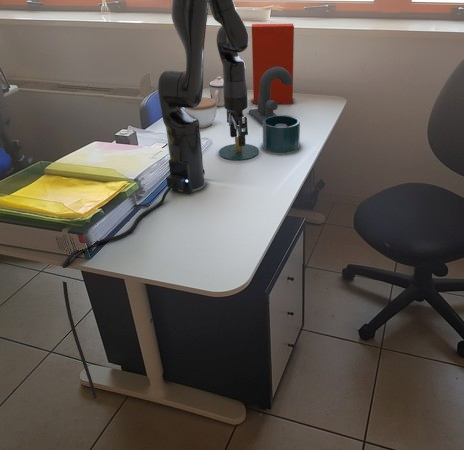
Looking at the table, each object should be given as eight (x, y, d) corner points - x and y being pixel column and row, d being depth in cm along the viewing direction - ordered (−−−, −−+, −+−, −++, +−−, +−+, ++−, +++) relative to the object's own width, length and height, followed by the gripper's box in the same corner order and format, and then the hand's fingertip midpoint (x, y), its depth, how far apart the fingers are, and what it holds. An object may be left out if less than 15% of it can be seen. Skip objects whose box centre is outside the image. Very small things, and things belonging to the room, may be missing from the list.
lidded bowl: (179, 124, 185) (176, 96, 179) (206, 117, 192) (204, 90, 186) (197, 132, 177) (194, 103, 171) (224, 125, 183) (222, 97, 178)
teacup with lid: (213, 100, 212) (211, 74, 206) (232, 100, 211) (231, 74, 205) (206, 108, 202) (204, 81, 196) (227, 108, 201) (225, 81, 195)
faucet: (300, 121, 186) (302, 70, 176) (264, 126, 181) (263, 74, 171) (282, 108, 201) (283, 60, 190) (248, 113, 196) (247, 64, 185)
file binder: (254, 98, 213) (252, 23, 196) (291, 98, 213) (292, 23, 196) (253, 104, 206) (251, 26, 189) (292, 103, 206) (293, 26, 189)
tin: (291, 156, 156) (292, 129, 151) (257, 151, 160) (256, 124, 155) (304, 143, 166) (305, 117, 161) (271, 138, 170) (271, 113, 165)
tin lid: (248, 164, 151) (247, 147, 148) (211, 158, 155) (210, 141, 152) (265, 150, 161) (265, 133, 158) (230, 144, 166) (229, 128, 163)
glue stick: (284, 149, 161) (284, 128, 157) (273, 147, 162) (273, 126, 158) (288, 144, 164) (288, 124, 160) (277, 143, 165) (277, 122, 161)
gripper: (217, 88, 152) (220, 135, 161) (231, 101, 141) (234, 150, 150) (239, 86, 155) (241, 132, 163) (254, 98, 143) (255, 147, 152)
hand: (237, 141), depth 156 cm, fingers open, 8 cm apart
